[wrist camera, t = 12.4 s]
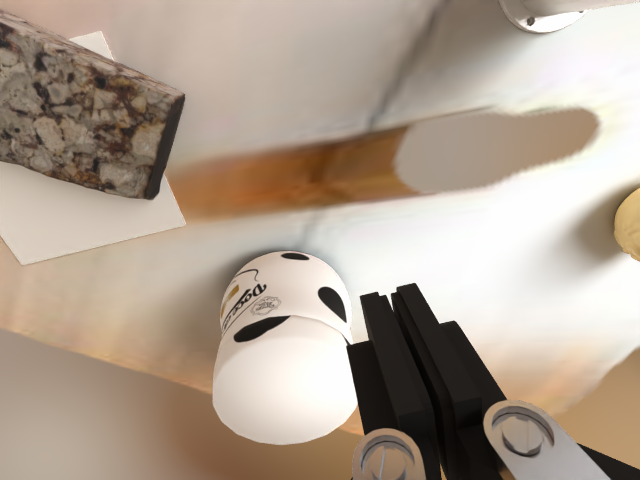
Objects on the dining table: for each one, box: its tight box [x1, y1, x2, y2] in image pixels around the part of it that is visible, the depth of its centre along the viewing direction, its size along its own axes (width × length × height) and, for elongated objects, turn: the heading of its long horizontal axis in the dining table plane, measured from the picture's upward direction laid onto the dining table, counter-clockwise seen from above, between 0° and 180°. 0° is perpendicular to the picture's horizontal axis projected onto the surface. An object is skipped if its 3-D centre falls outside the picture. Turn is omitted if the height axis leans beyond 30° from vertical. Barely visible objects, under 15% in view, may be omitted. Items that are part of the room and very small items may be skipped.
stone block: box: [0, 9, 185, 200], centre depth 36 cm, size 13×7×20 cm
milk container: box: [213, 251, 358, 445], centre depth 44 cm, size 17×17×18 cm
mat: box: [0, 31, 187, 266], centre depth 41 cm, size 22×22×1 cm
